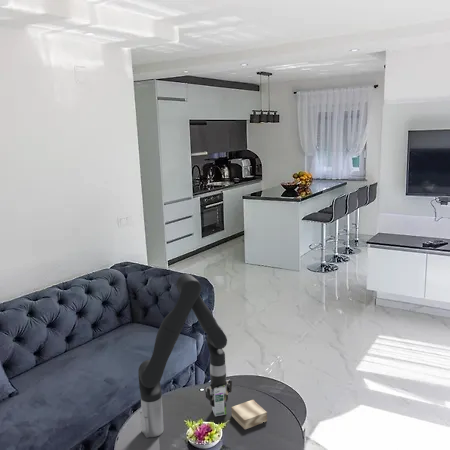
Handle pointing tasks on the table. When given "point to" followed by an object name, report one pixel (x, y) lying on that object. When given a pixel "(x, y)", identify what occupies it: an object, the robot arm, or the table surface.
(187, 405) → the table surface
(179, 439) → the table surface
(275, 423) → the table surface
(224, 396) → the syrup box
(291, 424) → the table surface
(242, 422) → the birch block
